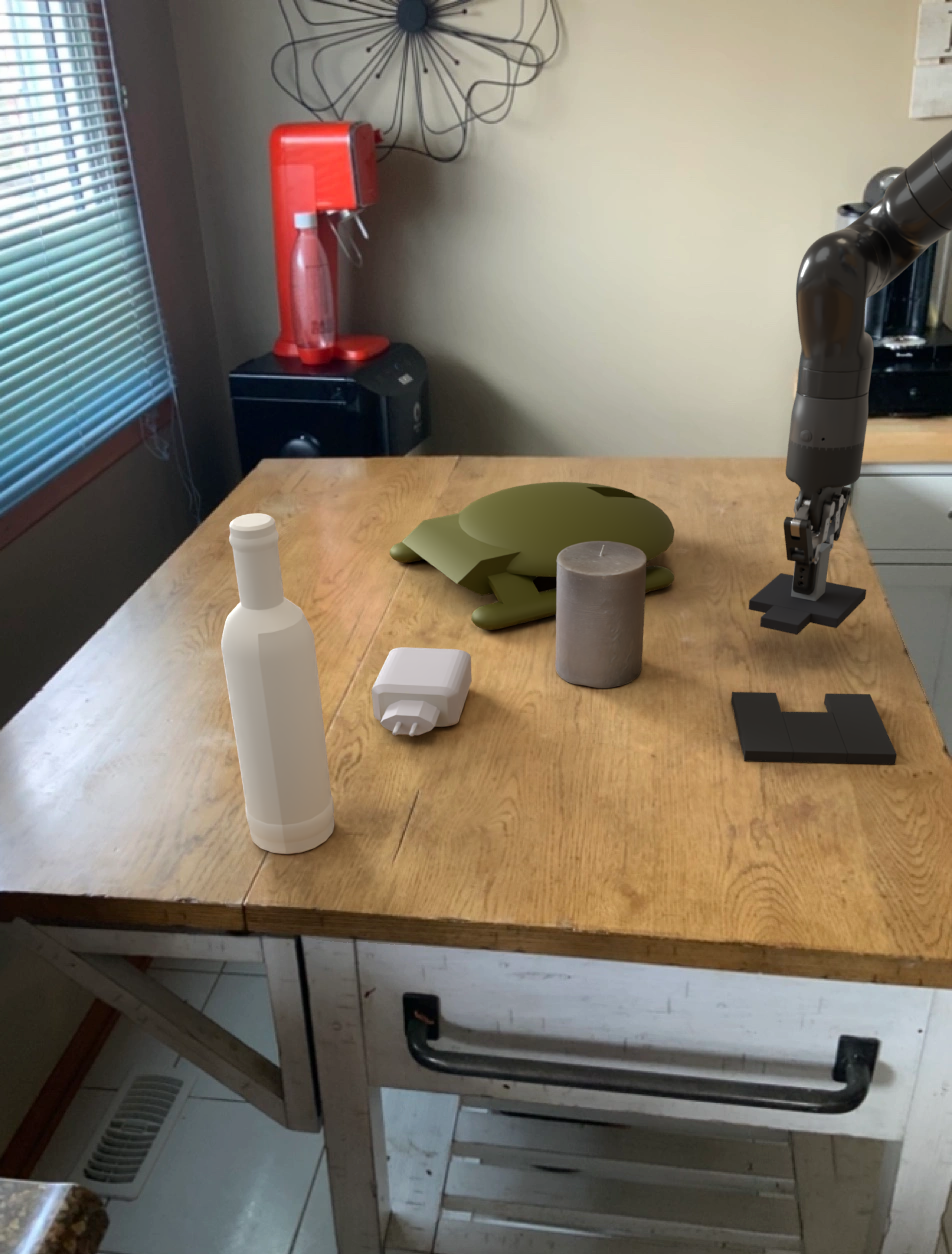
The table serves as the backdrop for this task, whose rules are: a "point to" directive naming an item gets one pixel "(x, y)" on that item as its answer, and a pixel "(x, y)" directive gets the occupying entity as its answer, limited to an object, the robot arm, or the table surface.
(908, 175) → the robot arm
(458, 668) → the charger
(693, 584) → the table surface
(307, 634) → the bottle
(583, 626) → the pillar candle
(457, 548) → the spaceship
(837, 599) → the loose pad
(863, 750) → the pad
